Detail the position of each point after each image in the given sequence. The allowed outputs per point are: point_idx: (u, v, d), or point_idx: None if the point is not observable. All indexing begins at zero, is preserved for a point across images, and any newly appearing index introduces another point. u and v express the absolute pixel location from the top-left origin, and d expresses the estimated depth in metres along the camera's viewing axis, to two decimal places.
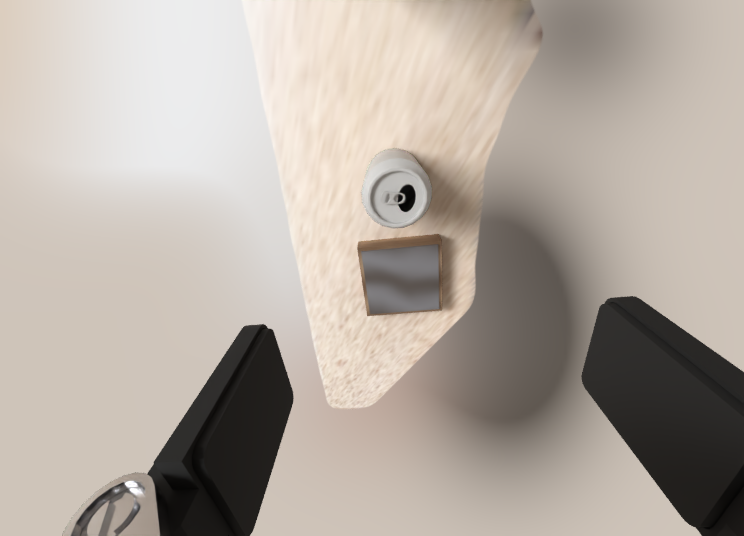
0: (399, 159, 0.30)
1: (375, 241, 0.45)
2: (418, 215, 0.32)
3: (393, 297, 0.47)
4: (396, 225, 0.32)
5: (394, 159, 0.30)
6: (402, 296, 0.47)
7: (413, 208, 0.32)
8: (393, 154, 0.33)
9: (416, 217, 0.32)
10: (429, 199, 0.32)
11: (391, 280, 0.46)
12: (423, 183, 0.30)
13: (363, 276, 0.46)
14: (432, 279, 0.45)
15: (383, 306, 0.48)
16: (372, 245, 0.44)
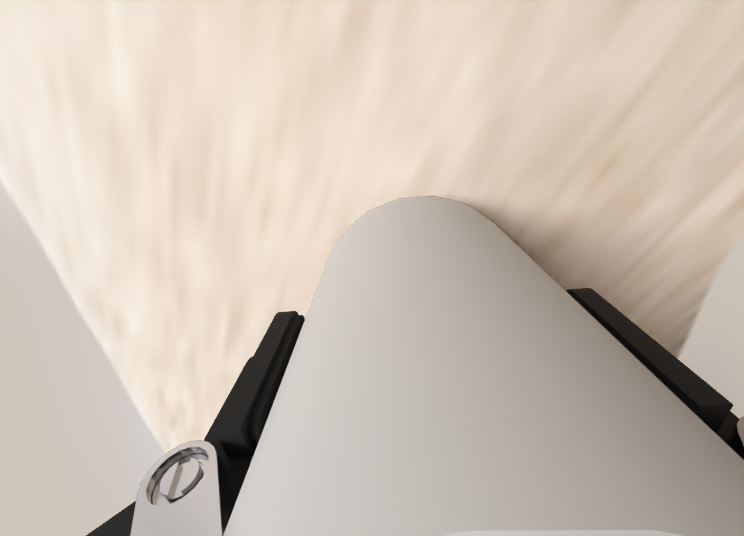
0: None
1: None
2: None
3: None
4: None
5: None
6: None
7: None
8: (452, 285, 0.05)
9: None
10: None
11: None
12: None
13: None
14: None
15: None
16: None
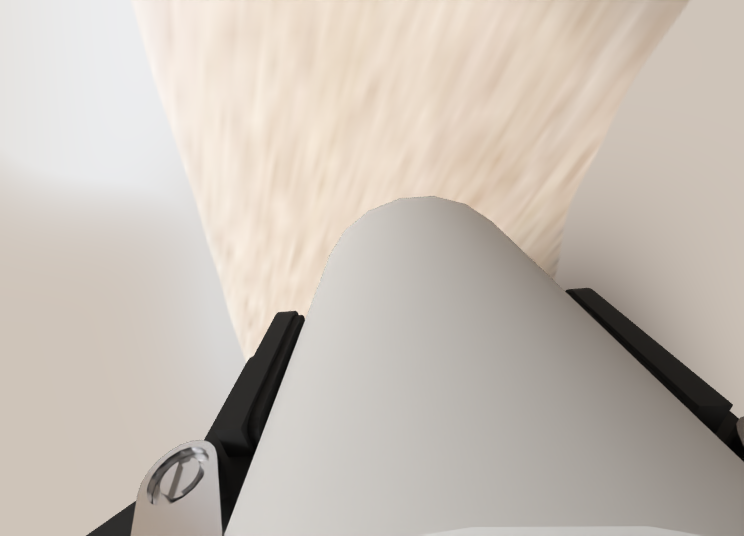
0: None
1: None
2: None
3: None
4: None
5: None
6: None
7: None
8: (452, 285, 0.05)
9: None
10: None
11: None
12: None
13: None
14: None
15: None
16: None
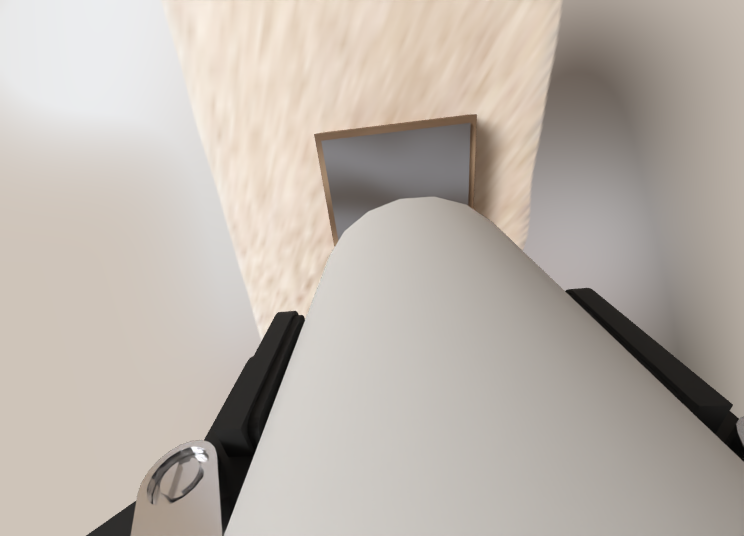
0: None
1: (350, 129, 0.24)
2: None
3: None
4: None
5: None
6: None
7: None
8: (452, 286, 0.05)
9: None
10: None
11: (380, 202, 0.25)
12: None
13: (328, 195, 0.25)
14: (457, 201, 0.24)
15: None
16: (343, 130, 0.23)
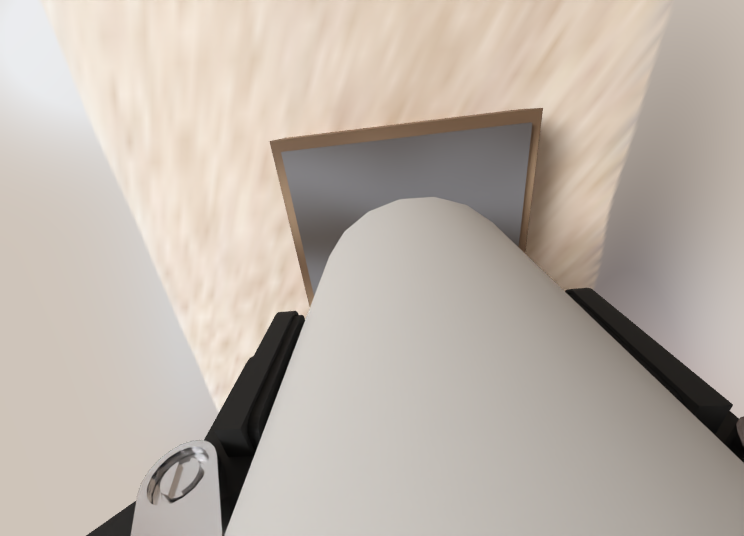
0: None
1: (332, 132, 0.15)
2: None
3: None
4: None
5: None
6: None
7: None
8: (452, 287, 0.05)
9: None
10: None
11: None
12: None
13: (298, 236, 0.16)
14: None
15: None
16: None
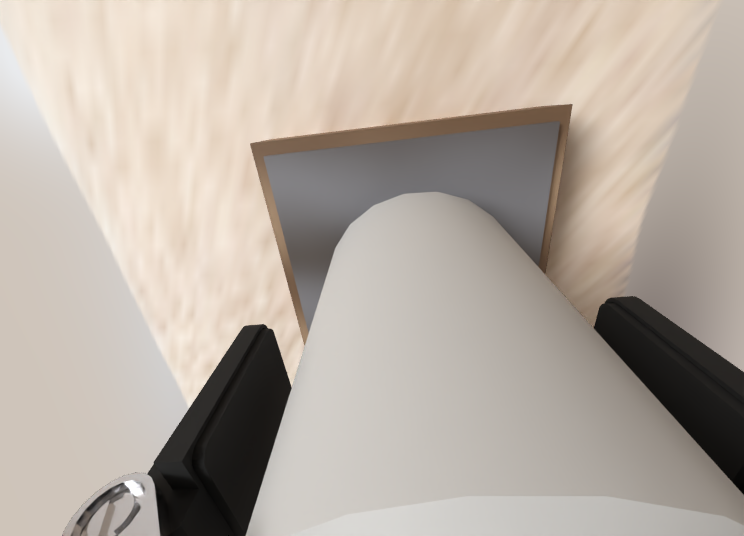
0: (594, 521, 0.03)
1: (324, 133, 0.13)
2: None
3: None
4: None
5: (529, 507, 0.03)
6: None
7: None
8: (454, 286, 0.05)
9: None
10: None
11: None
12: None
13: (286, 253, 0.14)
14: None
15: None
16: (307, 136, 0.12)
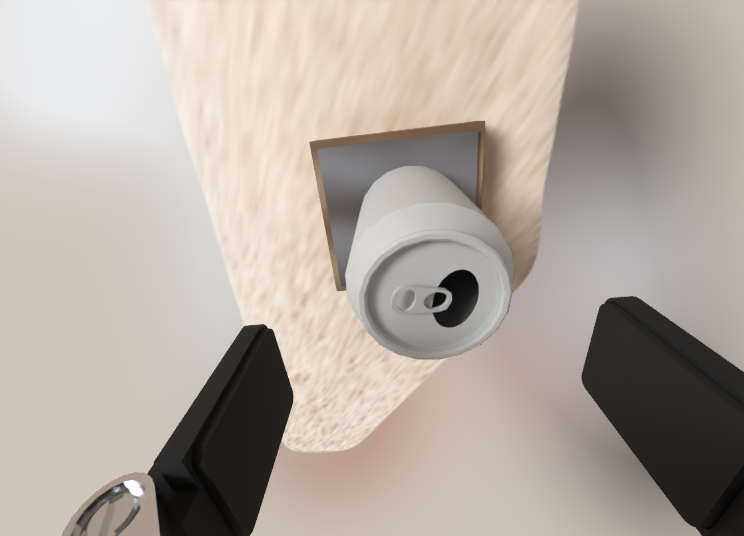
0: (444, 206, 0.12)
1: None
2: (480, 340, 0.13)
3: None
4: (424, 356, 0.14)
5: (431, 205, 0.12)
6: None
7: (468, 321, 0.13)
8: (422, 185, 0.15)
9: (475, 343, 0.13)
10: None
11: None
12: (505, 273, 0.11)
13: (325, 207, 0.23)
14: None
15: None
16: None
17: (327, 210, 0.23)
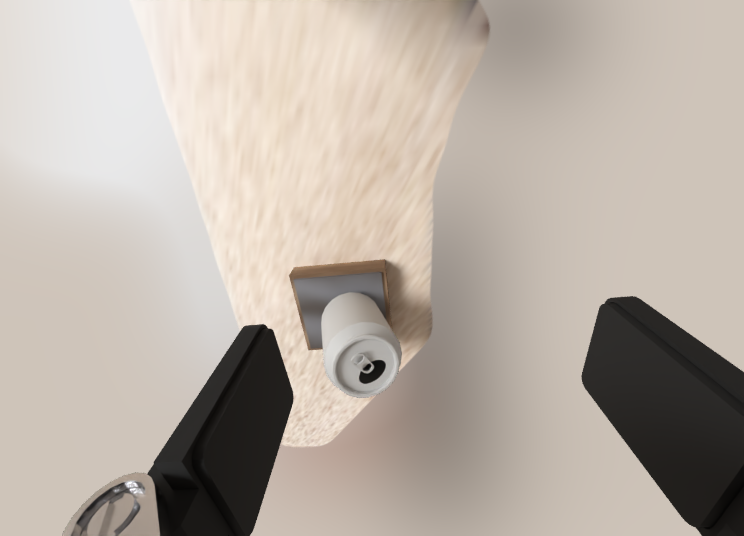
0: (392, 333, 0.28)
1: (312, 267, 0.39)
2: (370, 395, 0.28)
3: None
4: (344, 390, 0.27)
5: (388, 330, 0.28)
6: None
7: (370, 384, 0.28)
8: (381, 316, 0.32)
9: (367, 395, 0.28)
10: None
11: None
12: (397, 371, 0.28)
13: (299, 306, 0.40)
14: None
15: None
16: (307, 272, 0.38)
17: (300, 308, 0.40)
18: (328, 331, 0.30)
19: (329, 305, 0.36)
